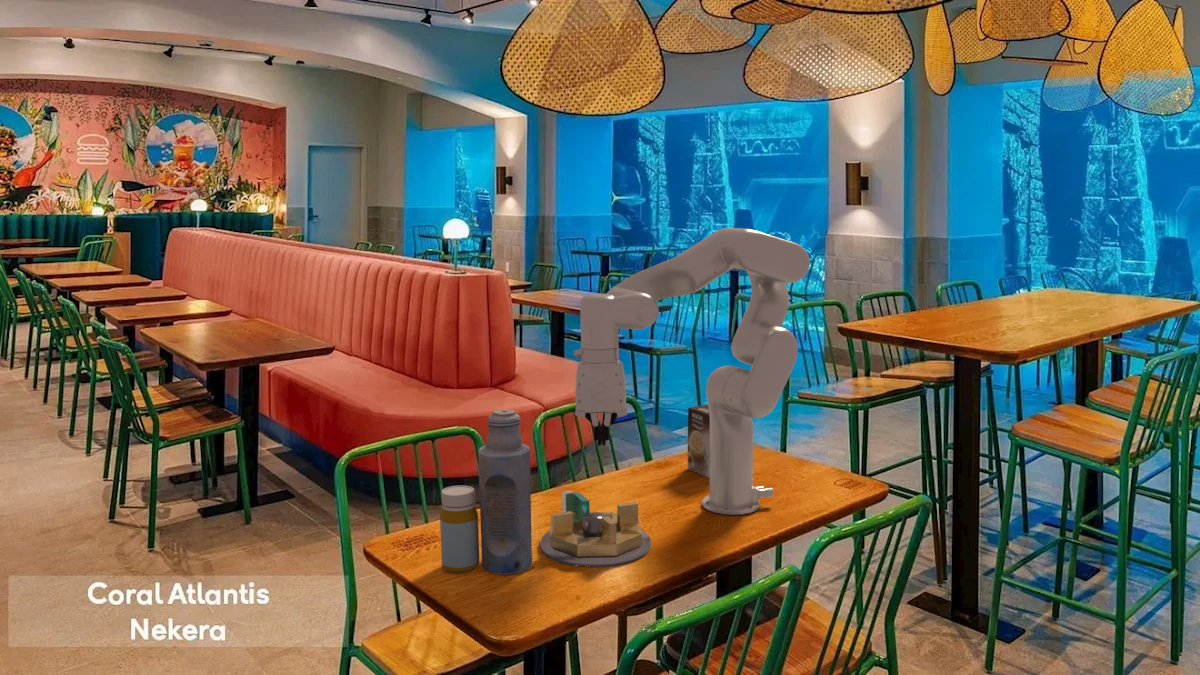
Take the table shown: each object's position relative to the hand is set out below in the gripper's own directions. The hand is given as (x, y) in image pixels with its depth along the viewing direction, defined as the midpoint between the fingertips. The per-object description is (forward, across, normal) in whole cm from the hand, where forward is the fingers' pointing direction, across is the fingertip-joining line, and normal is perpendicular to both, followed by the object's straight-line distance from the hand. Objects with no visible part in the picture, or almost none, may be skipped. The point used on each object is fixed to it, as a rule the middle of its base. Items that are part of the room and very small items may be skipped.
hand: (601, 443), depth 193 cm
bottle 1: (+19, -26, -19) cm, 38 cm away
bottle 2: (+19, -18, -18) cm, 32 cm away
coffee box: (+20, +24, +42) cm, 52 cm away
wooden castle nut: (+17, -1, -7) cm, 19 cm away
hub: (+19, -1, -8) cm, 20 cm away
